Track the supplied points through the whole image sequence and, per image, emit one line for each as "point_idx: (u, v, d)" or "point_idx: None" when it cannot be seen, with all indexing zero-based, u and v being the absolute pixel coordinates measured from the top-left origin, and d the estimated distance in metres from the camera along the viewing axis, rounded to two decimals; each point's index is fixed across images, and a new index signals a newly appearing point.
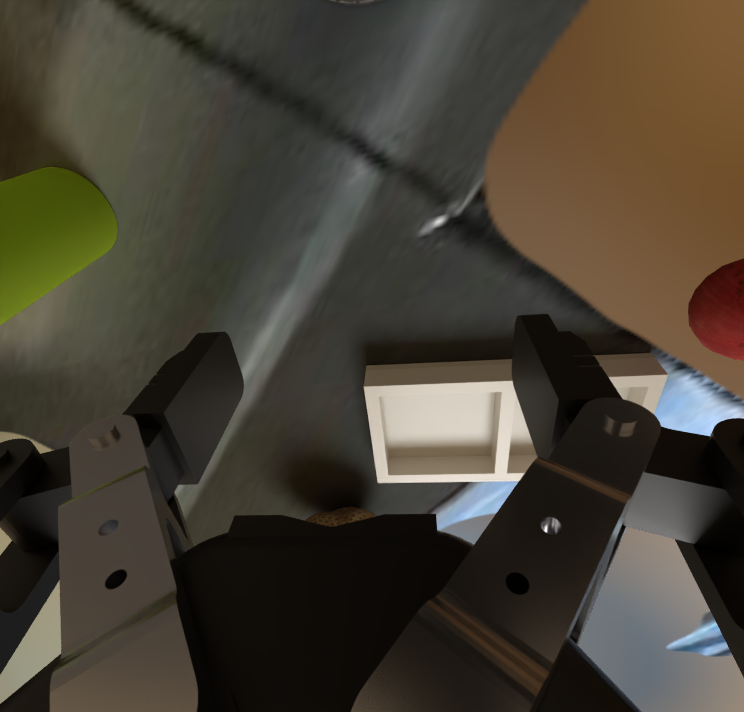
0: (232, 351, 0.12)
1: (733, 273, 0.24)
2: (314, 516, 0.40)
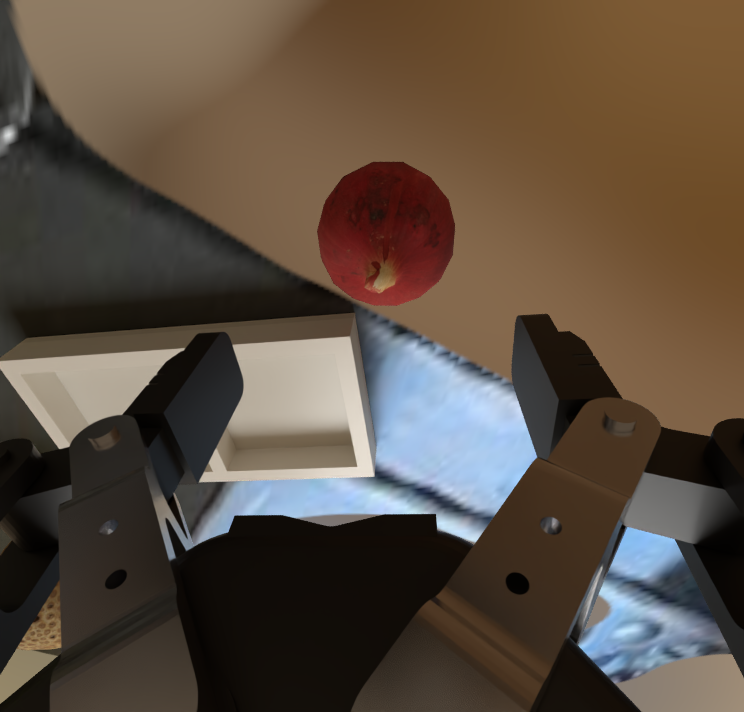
0: (232, 351, 0.12)
1: (339, 182, 0.17)
2: None
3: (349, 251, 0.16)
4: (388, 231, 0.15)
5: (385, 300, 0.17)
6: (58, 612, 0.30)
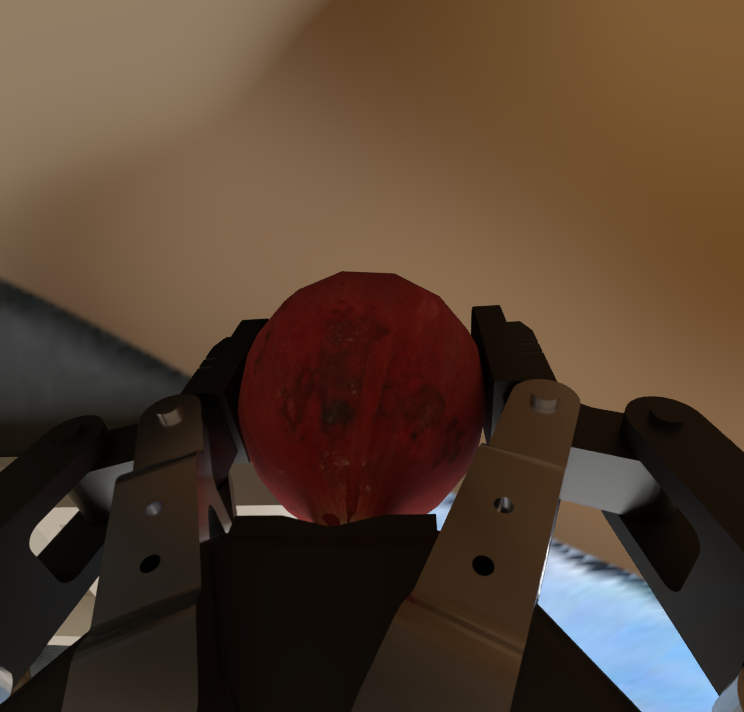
0: None
1: (278, 310, 0.10)
2: None
3: (282, 474, 0.08)
4: (358, 451, 0.07)
5: None
6: None
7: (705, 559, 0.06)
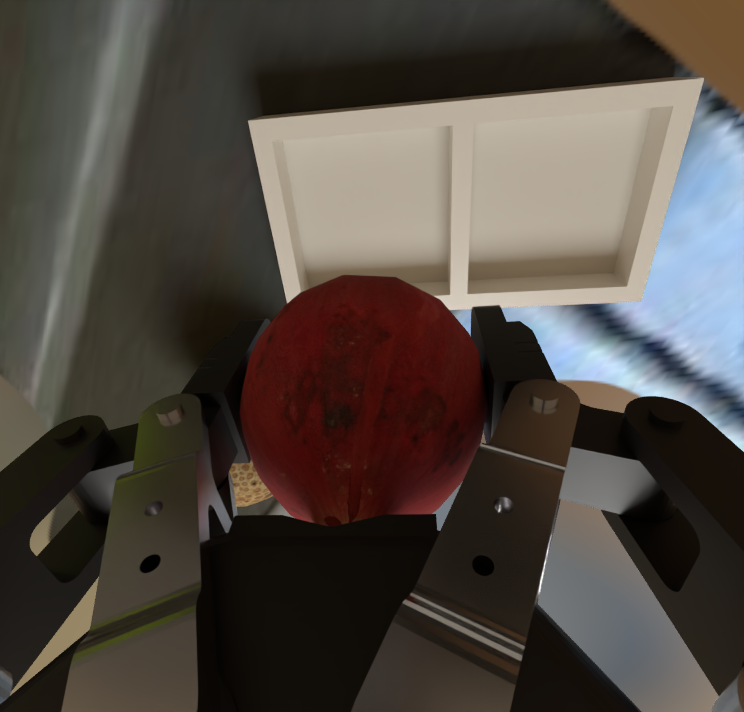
0: None
1: (280, 313, 0.10)
2: None
3: (283, 477, 0.08)
4: (359, 454, 0.07)
5: None
6: None
7: (705, 559, 0.06)
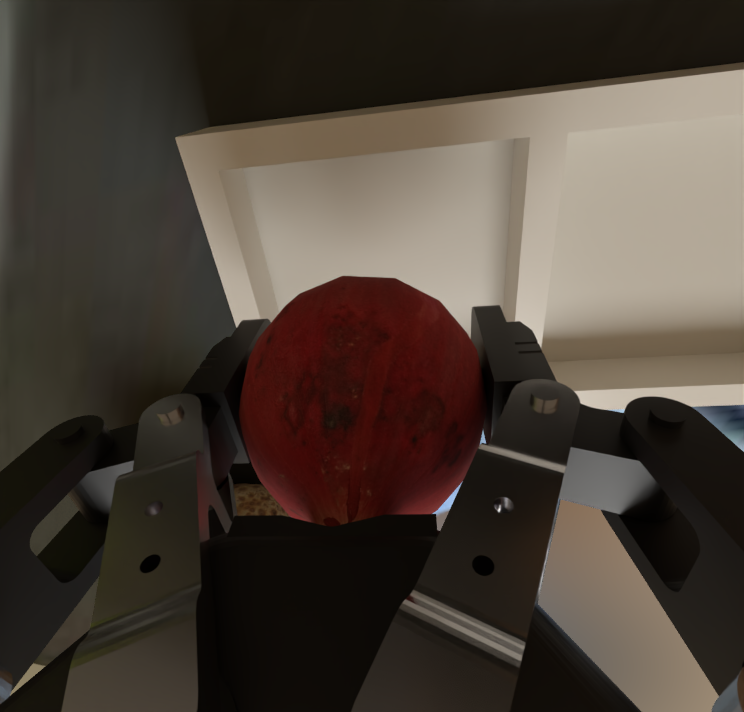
0: None
1: (279, 314, 0.10)
2: None
3: (283, 478, 0.08)
4: (358, 455, 0.07)
5: None
6: None
7: (705, 559, 0.06)
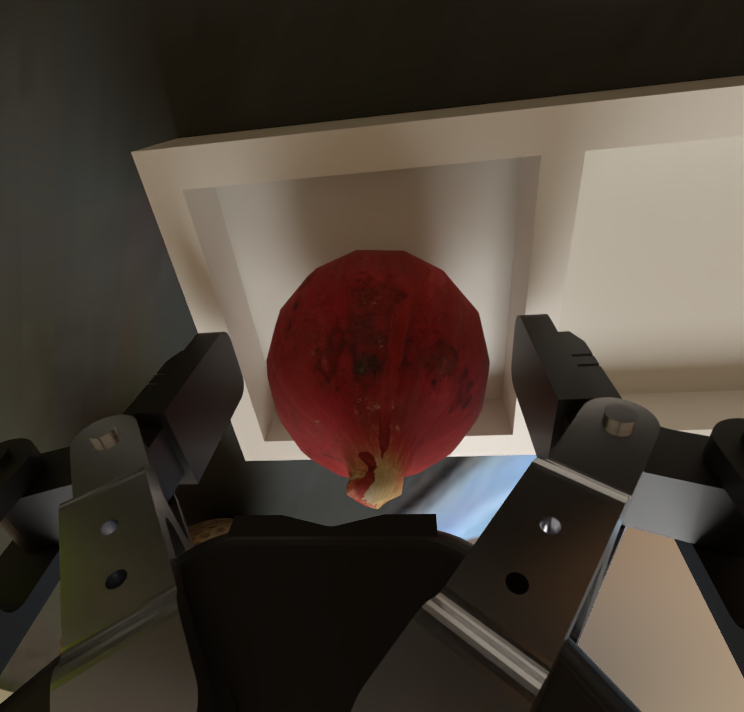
0: (232, 351, 0.12)
1: (301, 285, 0.11)
2: None
3: (317, 423, 0.09)
4: (387, 396, 0.08)
5: None
6: None
7: None
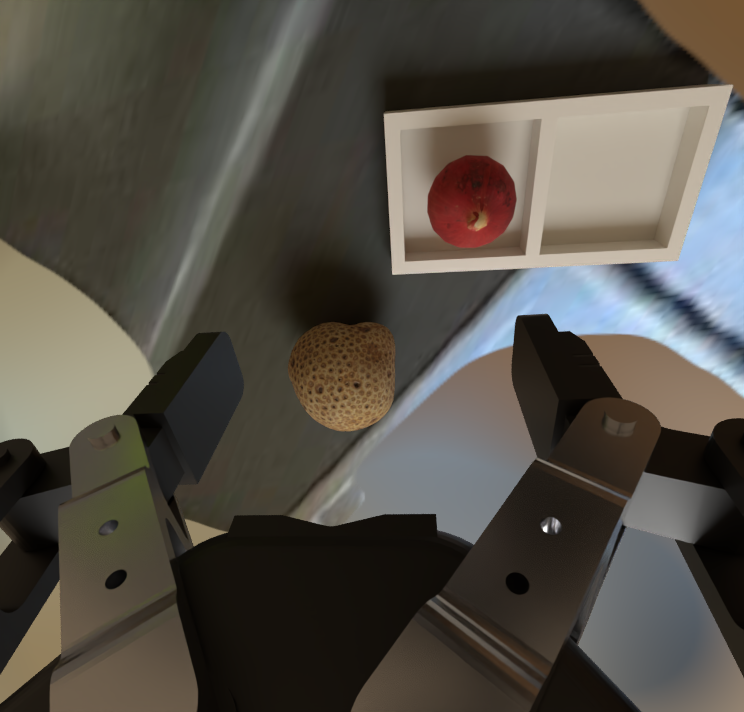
0: (232, 351, 0.12)
1: (445, 166, 0.28)
2: None
3: (457, 206, 0.26)
4: (483, 194, 0.26)
5: (472, 241, 0.28)
6: (373, 383, 0.32)
7: None
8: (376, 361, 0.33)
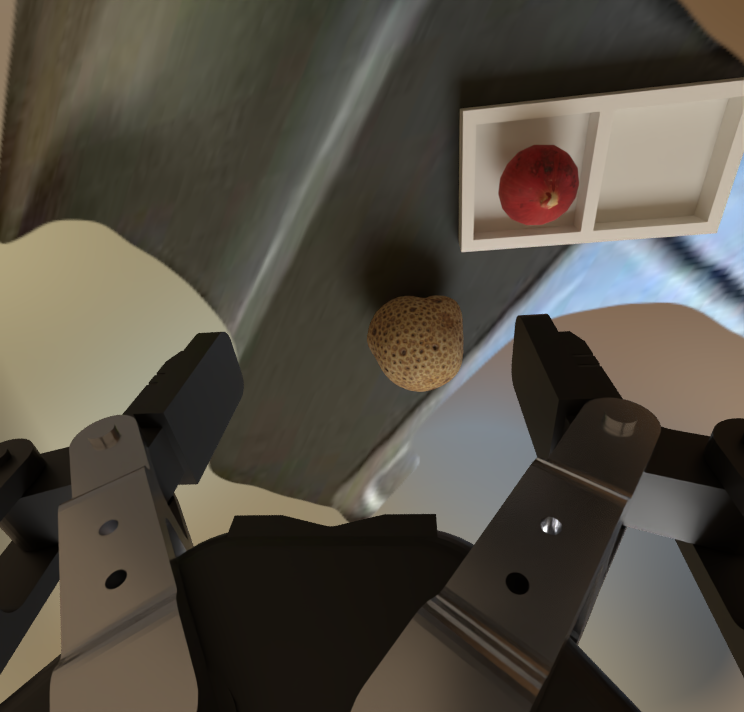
0: (232, 351, 0.12)
1: (517, 155, 0.33)
2: None
3: (530, 189, 0.31)
4: (554, 177, 0.30)
5: (541, 218, 0.32)
6: (449, 346, 0.37)
7: None
8: (450, 327, 0.38)
